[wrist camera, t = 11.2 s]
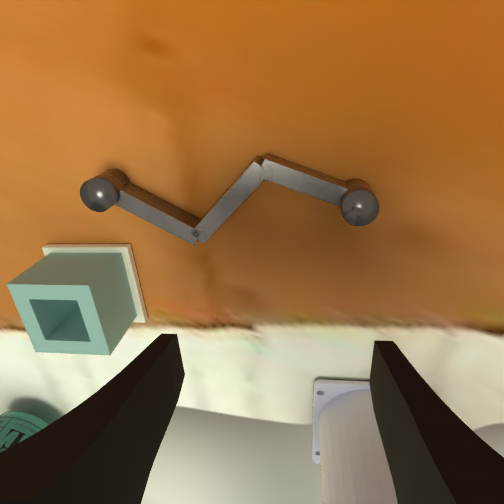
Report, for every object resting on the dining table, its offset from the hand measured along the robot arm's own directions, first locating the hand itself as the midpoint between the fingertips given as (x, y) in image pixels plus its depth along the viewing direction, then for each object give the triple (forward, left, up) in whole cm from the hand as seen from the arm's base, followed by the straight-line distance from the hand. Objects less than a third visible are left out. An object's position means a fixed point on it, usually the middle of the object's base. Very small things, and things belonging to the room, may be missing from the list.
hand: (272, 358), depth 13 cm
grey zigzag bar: (+3, +3, -10) cm, 11 cm away
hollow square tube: (-3, +13, -9) cm, 16 cm away
